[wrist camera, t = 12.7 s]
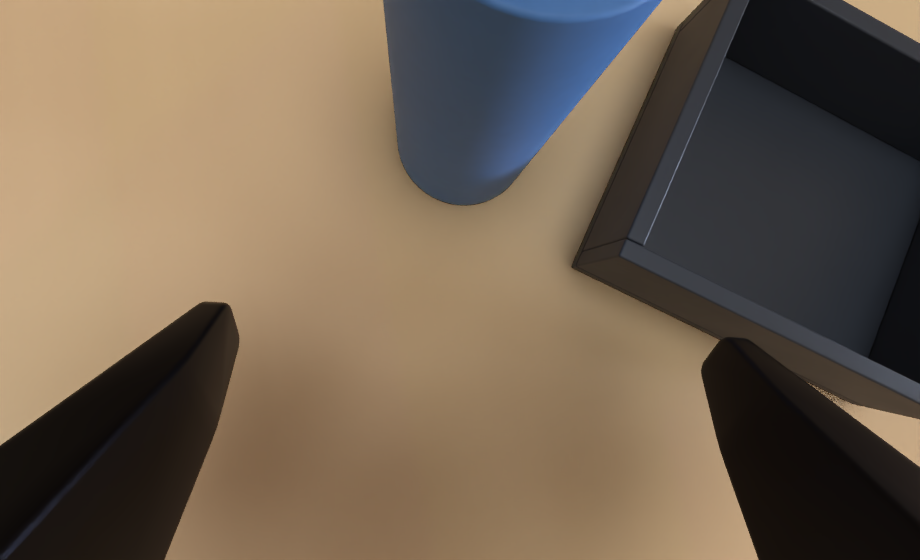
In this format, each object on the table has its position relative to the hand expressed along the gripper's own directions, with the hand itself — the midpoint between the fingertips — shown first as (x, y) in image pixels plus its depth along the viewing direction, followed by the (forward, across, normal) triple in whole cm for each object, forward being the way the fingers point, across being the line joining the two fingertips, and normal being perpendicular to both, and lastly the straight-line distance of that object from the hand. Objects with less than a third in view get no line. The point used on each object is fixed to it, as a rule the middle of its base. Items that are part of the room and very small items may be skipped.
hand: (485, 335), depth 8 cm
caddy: (+9, -12, +2) cm, 15 cm away
